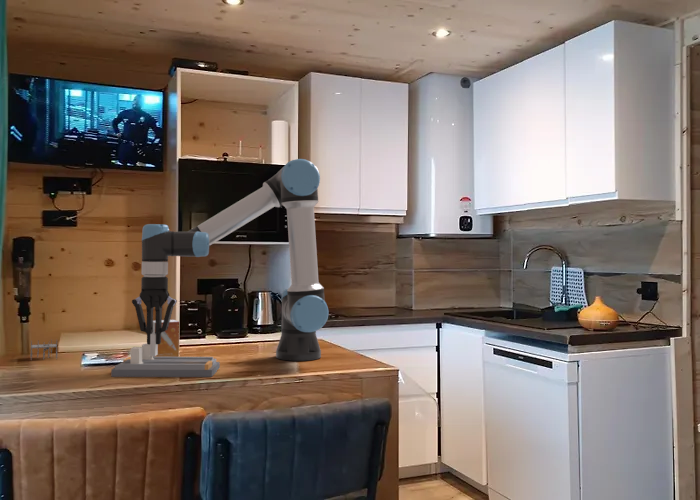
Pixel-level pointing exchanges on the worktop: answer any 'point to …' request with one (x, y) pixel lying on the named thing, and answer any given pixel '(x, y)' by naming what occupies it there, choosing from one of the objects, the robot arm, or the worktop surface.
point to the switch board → (168, 367)
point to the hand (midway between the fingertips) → (153, 355)
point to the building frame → (45, 346)
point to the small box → (169, 340)
